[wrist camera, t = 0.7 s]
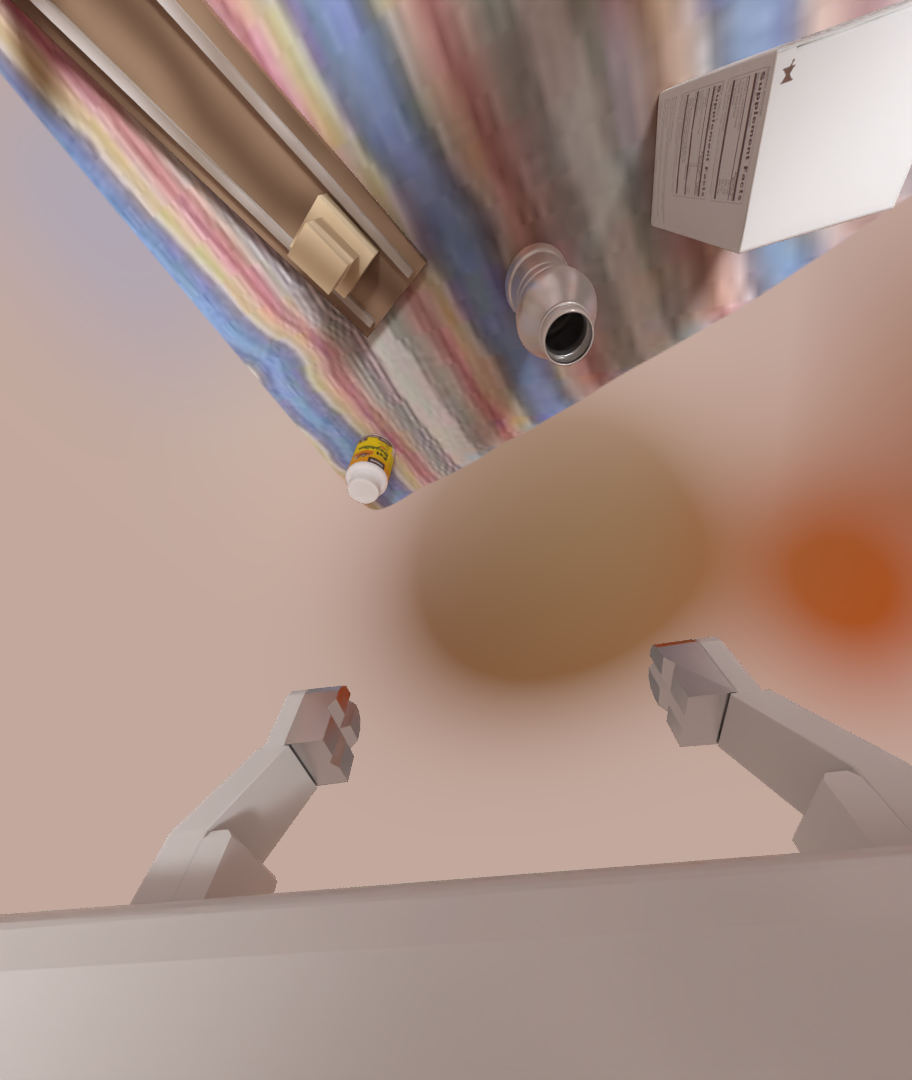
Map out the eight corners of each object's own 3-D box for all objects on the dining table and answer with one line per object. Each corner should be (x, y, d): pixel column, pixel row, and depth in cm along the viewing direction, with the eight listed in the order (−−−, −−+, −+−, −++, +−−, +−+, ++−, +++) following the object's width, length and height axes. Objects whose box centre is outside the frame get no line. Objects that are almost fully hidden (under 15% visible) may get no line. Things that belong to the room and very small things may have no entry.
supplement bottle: (398, 437, 55) (388, 479, 48) (392, 469, 59) (382, 512, 51) (359, 427, 54) (342, 469, 47) (355, 460, 58) (339, 503, 51)
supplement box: (648, 228, 38) (731, 259, 26) (656, 91, 32) (769, 50, 20) (756, 194, 36) (898, 211, 24) (786, 42, 30) (998, -37, 18)
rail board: (-2, -242, 23) (-117, -341, 19) (427, 260, 40) (422, 273, 36) (-17, -36, 28) (-112, -75, 24) (369, 333, 45) (359, 353, 41)
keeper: (327, 193, 36) (300, 199, 30) (379, 250, 39) (364, 266, 33) (299, 241, 38) (270, 255, 32) (350, 291, 41) (331, 312, 35)
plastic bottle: (507, 319, 44) (527, 395, 30) (498, 248, 40) (516, 297, 25) (565, 304, 43) (614, 376, 29) (562, 229, 38) (619, 270, 24)
